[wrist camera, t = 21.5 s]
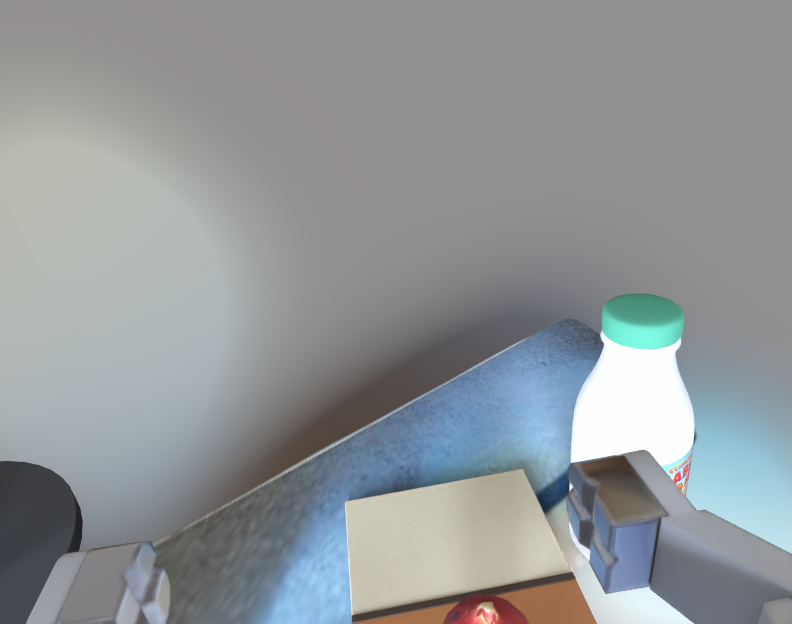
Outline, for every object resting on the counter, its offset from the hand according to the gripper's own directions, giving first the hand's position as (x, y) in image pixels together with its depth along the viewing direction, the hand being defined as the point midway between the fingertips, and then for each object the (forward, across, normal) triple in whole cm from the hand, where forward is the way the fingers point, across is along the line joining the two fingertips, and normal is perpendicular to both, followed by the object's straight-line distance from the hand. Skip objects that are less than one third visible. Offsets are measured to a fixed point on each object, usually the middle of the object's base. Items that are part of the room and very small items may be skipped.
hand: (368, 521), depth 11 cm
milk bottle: (+20, -18, +29) cm, 39 cm away
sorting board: (+17, -4, +28) cm, 33 cm away
